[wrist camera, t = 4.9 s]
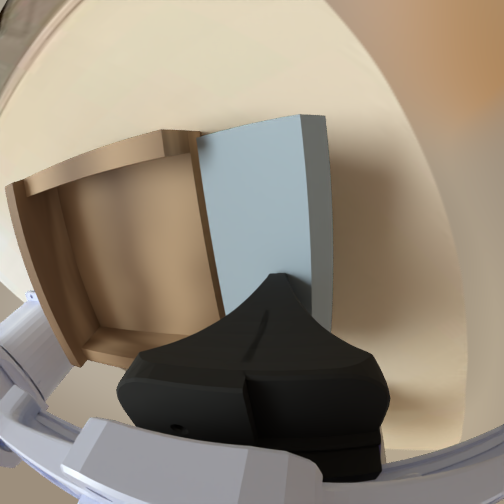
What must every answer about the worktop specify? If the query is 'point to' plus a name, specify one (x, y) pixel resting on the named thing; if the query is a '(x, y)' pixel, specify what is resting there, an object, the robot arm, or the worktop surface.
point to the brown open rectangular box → (120, 247)
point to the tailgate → (271, 209)
